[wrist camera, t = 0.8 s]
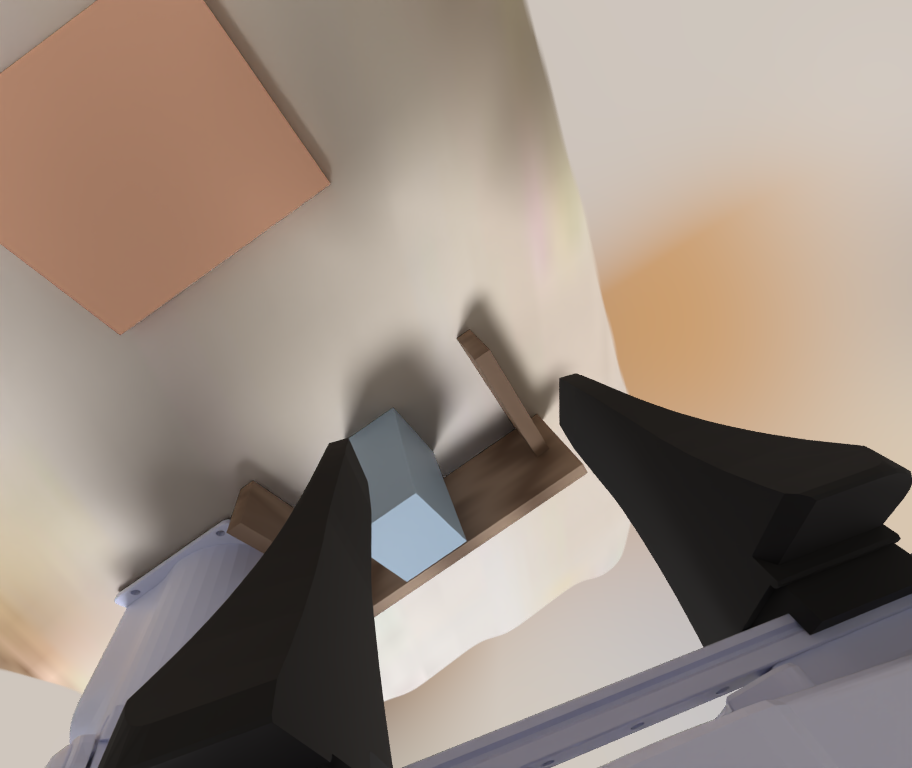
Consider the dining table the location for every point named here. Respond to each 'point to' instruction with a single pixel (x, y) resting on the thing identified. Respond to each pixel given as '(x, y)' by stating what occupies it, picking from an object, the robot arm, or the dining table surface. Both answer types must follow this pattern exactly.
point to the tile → (141, 156)
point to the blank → (405, 497)
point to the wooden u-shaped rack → (453, 485)
